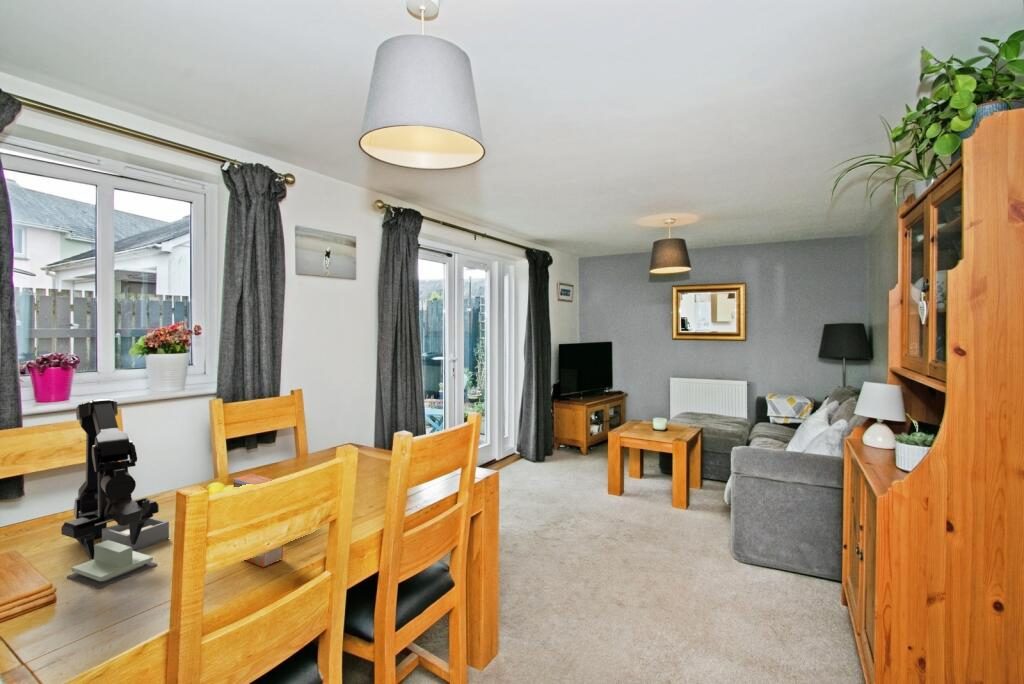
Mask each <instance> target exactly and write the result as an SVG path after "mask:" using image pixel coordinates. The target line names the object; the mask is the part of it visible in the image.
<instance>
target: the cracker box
mask: <svg viewBox="0 0 1024 684" xmlns="http://www.w3.org/2000/svg"><path fill="white" fill-rule="evenodd" d="M272 480H275V479H273V478H270V477H266V476H262V475H258V474H255V473H250V474H246V475H242V476H238V477H234V478H233V488H234V487H240V486H242V485H246V484H261V483H265V482H268V481H272ZM283 557H284V546H280V547H278V548H276V549H273V550H270V551H268V552H266V553H263V554H260V555H258V556H256V557H253V558H250V559H248V560H246V561H247V562H250V563H252V564H255V565H257V566H259V567H261V566H262V567H261V568H266V567H268V566H270V565H269V564H271V565H273V564H275V563H274V562H276V561H277V560H280V559H282V558H283ZM283 559H284V558H283ZM272 563H273V564H272ZM276 563H277V562H276ZM267 565H268V566H267ZM265 566H266V567H265Z"/></svg>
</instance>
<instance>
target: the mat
mask: <svg viewBox="0 0 1024 684" xmlns="http://www.w3.org/2000/svg"><path fill="white" fill-rule="evenodd" d="M157 566H158V563H156V562H153V561H151V562H148V563H146V564H144V566H142V567H139V568H137V569H134V570H132V571H129V572H127V573H124V574H122V575H119V576H117V577H114V578H112V579H109V580H107V581H104V582H103V581H98V580H95V579H92V578H89V577H86V576H84V575H81V574H78V573H75V572H73V573H71V574H69V575H67V576H66V578H67V579H69V580H72V581H75V582H77V583H80V584H83V585H86V586H88V587H90V588H93V587H94V589H97V590H102V589H103V588H106V587H109V586H111V585H113V584H116V583H118V582H120V581H123V580H126V579H128V578H131V577H133V576H135V575H138V574H140V573H143V572H145V571H147V570H150V569H152V568H154V567H157Z"/></svg>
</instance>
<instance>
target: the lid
mask: <svg viewBox="0 0 1024 684" xmlns="http://www.w3.org/2000/svg"><path fill="white" fill-rule="evenodd" d="M153 561H154V557H153V556H152V555H148V554H144V553H142V552H139V551H132V547H130V546H126V545H123V544H120V543H116V542H113V541H110V540H106V541H104V542H102V541H101V542H98V543H94V559H93V560H91V559H90V560H88V561H85V562H83V563H80V564H77V565H74V566H72V567H71V572H72V573H78V574H81V575H84V576H86V577H89V578H92V579H95V580H98V581H103V582H104V581H107V580H109V579H112V578H114V577H117V576H119V575H122V574H124V573H127V572H129V571H132V570H134V569H137V568H139V567H142V566H144V564H146V563H148V562H153Z"/></svg>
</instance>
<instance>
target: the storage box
mask: <svg viewBox="0 0 1024 684" xmlns="http://www.w3.org/2000/svg"><path fill="white" fill-rule="evenodd" d="M168 538H169V539H170V522H169V520H164V519H160V518H157V517H154V516H153V517H151V518H149V519H148V520H147V521H146V522H145V523H144V525H143V527H142V529H141V532H140V534H139V536H138V539H137V541H136V544H134V545H133V544H131V540H130V530H129V524H128V525H126V526H120V525H118V524H117V523H116V524H114V525H110V526H107V527H106V528H103V529H102V537H101V542H104V541H106V540H110V541H113V542H116V543H120V544H123V545H126V546H130V547H132V551H135V552H139V551H141V550H143V549H146V548H149V547H150V546H151V547H152V546H154V545H156V544H159V543H163V541H168V540H169V539H168Z"/></svg>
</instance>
